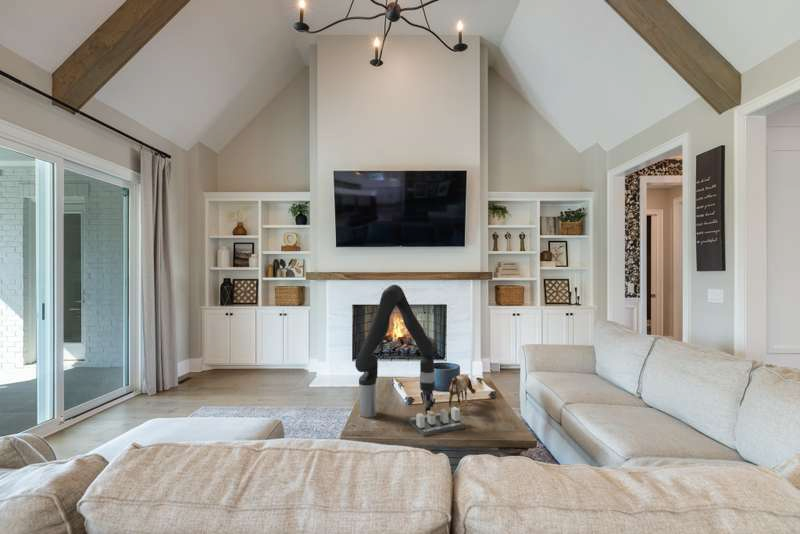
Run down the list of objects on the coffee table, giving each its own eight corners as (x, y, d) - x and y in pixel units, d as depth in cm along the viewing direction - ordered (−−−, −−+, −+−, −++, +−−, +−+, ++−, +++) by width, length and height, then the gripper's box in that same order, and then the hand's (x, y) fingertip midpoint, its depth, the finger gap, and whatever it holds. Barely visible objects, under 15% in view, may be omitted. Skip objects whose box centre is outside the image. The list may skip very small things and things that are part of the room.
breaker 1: (416, 425, 199) (416, 413, 199) (421, 424, 200) (420, 413, 200) (419, 428, 196) (419, 416, 196) (424, 427, 197) (424, 416, 196)
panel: (407, 422, 209) (407, 418, 209) (446, 414, 217) (446, 411, 217) (422, 436, 192) (422, 432, 192) (464, 428, 200) (464, 423, 200)
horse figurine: (456, 418, 212) (455, 379, 211) (442, 416, 216) (442, 377, 215) (476, 399, 239) (476, 365, 238) (464, 397, 242) (464, 363, 242)
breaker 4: (451, 418, 207) (451, 407, 207) (455, 417, 208) (455, 406, 207) (455, 421, 203) (455, 410, 203) (459, 420, 204) (459, 409, 204)
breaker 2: (427, 421, 203) (426, 410, 203) (431, 420, 204) (431, 410, 204) (430, 424, 199) (430, 413, 199) (435, 424, 200) (435, 413, 200)
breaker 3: (440, 420, 204) (439, 409, 204) (444, 419, 205) (444, 408, 205) (443, 423, 201) (443, 412, 200) (448, 422, 202) (448, 411, 201)
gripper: (415, 377, 209) (415, 410, 210) (426, 384, 197) (427, 420, 198) (428, 375, 212) (428, 408, 213) (440, 382, 200) (440, 417, 201)
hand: (428, 413), depth 205 cm, fingers closed
